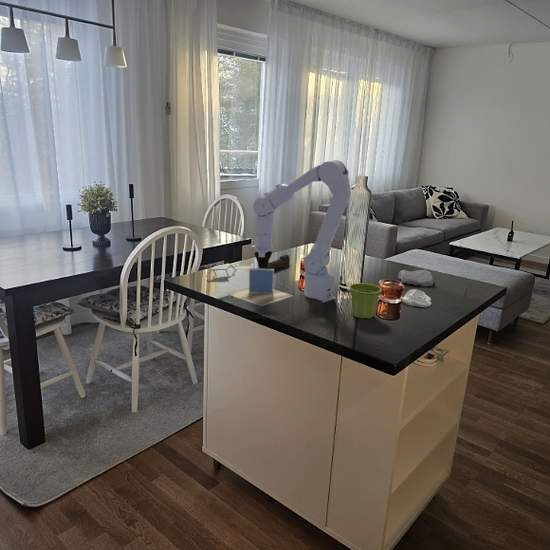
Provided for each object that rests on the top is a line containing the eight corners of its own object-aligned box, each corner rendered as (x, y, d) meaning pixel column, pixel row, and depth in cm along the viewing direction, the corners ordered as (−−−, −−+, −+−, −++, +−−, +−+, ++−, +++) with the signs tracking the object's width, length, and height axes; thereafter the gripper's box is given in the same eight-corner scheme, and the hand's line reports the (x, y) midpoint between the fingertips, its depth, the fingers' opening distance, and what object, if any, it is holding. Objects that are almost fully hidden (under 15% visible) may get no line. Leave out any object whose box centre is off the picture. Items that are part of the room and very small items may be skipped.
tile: (273, 292, 159) (274, 269, 157) (273, 293, 158) (273, 270, 156) (249, 291, 159) (249, 267, 157) (248, 292, 158) (249, 269, 156)
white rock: (418, 284, 162) (440, 292, 154) (417, 296, 163) (438, 305, 155) (395, 287, 158) (416, 296, 149) (394, 300, 159) (414, 309, 151)
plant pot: (357, 307, 150) (359, 281, 148) (384, 315, 145) (387, 287, 142) (341, 315, 143) (343, 287, 141) (369, 323, 138) (372, 295, 135)
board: (293, 298, 157) (293, 295, 156) (261, 309, 146) (261, 306, 146) (258, 287, 167) (258, 284, 167) (226, 296, 157) (226, 293, 156)
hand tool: (267, 275, 182) (267, 264, 180) (259, 273, 184) (259, 262, 183) (294, 266, 197) (295, 255, 195) (286, 264, 199) (287, 253, 198)
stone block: (434, 291, 175) (428, 278, 184) (435, 280, 172) (430, 267, 181) (400, 291, 176) (397, 278, 185) (402, 279, 174) (398, 267, 182)
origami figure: (224, 285, 168) (224, 272, 167) (204, 281, 172) (204, 268, 171) (242, 277, 178) (243, 264, 177) (224, 274, 182) (224, 261, 181)
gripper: (254, 228, 167) (253, 266, 170) (249, 237, 153) (248, 278, 156) (274, 229, 166) (273, 267, 170) (271, 238, 152) (270, 279, 156)
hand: (263, 272), depth 163 cm, fingers closed
